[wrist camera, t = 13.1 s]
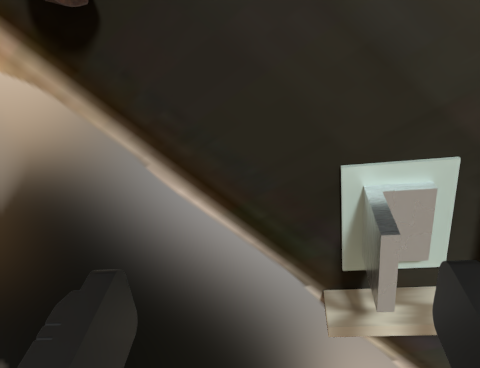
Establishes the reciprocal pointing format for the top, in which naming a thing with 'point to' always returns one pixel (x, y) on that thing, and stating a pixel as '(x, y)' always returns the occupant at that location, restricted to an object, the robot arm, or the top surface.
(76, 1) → the bolt
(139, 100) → the top surface
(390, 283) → the angle bracket
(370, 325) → the corner walls
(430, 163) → the pad
